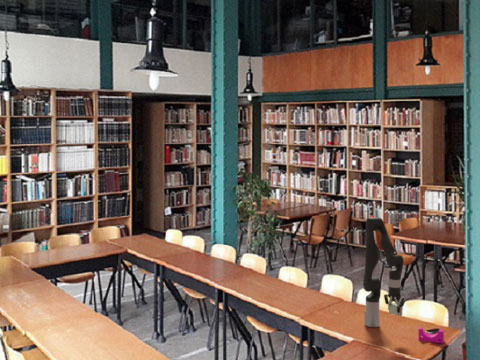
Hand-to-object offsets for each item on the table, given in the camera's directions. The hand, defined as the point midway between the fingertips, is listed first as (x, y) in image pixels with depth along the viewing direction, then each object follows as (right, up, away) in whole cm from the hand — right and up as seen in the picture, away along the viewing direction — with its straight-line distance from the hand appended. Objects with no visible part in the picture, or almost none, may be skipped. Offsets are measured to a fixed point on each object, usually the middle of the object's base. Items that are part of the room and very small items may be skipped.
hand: (394, 311), depth 351 cm
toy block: (+24, -19, 0) cm, 30 cm away
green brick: (0, 0, 0) cm, 0 cm away
